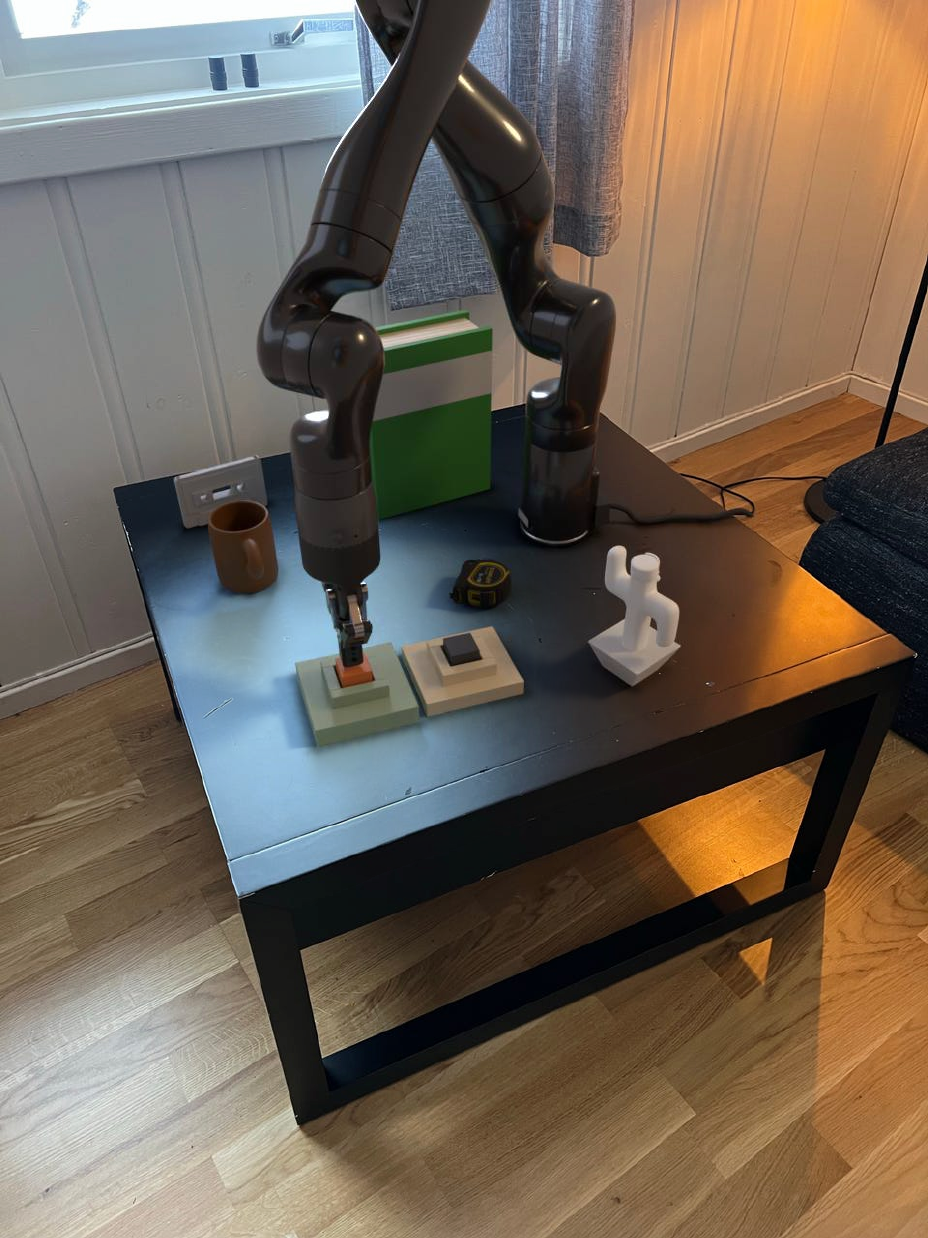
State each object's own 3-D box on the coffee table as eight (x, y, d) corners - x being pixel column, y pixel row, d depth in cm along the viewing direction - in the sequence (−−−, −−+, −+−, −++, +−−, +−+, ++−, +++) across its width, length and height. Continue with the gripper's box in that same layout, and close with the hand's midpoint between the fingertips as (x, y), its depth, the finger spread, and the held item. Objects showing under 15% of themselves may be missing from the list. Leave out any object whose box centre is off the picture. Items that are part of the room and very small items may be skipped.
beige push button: (492, 638, 109) (492, 615, 107) (523, 694, 102) (524, 670, 100) (401, 658, 107) (400, 635, 104) (427, 717, 99) (426, 693, 97)
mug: (296, 607, 114) (287, 543, 108) (234, 623, 112) (221, 559, 106) (270, 555, 123) (260, 493, 117) (213, 569, 120) (200, 507, 114)
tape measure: (464, 576, 119) (464, 552, 117) (516, 585, 117) (517, 561, 115) (449, 608, 114) (448, 584, 111) (503, 618, 112) (504, 593, 110)
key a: (470, 642, 104) (470, 632, 103) (479, 660, 102) (479, 650, 101) (442, 648, 103) (442, 638, 102) (451, 667, 101) (451, 656, 100)
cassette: (264, 500, 133) (257, 453, 128) (269, 506, 132) (262, 458, 127) (182, 524, 128) (171, 475, 124) (186, 530, 127) (175, 482, 122)
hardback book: (466, 466, 141) (466, 309, 126) (490, 488, 136) (492, 328, 120) (358, 494, 134) (343, 333, 119) (378, 519, 129) (366, 354, 114)
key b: (365, 662, 101) (364, 651, 100) (372, 681, 98) (371, 670, 97) (336, 669, 100) (334, 658, 99) (343, 688, 98) (341, 677, 97)
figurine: (641, 705, 101) (659, 595, 91) (578, 661, 106) (588, 553, 97) (684, 675, 104) (705, 566, 95) (620, 634, 110) (635, 527, 100)
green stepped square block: (392, 657, 107) (390, 630, 104) (419, 722, 99) (418, 695, 96) (297, 678, 104) (293, 651, 102) (317, 747, 96) (313, 719, 93)
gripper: (395, 553, 83) (403, 695, 94) (360, 481, 93) (371, 617, 104) (312, 569, 81) (330, 711, 92) (285, 494, 91) (304, 631, 102)
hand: (351, 661), depth 98 cm, fingers closed
